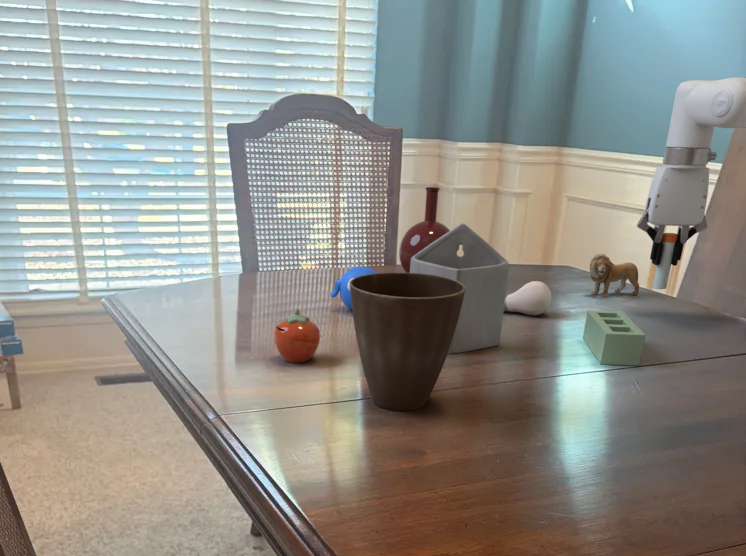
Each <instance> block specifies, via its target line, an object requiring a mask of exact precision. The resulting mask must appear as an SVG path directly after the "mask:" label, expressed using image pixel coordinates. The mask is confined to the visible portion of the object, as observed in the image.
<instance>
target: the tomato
mask: <svg viewBox="0 0 746 556" xmlns="http://www.w3.org/2000/svg"><path fill="white" fill-rule="evenodd" d="M273 341H274V344H275V348H276V349H277V351H278V352H279V354H280V356H281V357H282V358H283V359H284V360H285V361H286V362H287V363H294V364H299V363H305V362H307V361H309V360H310V359H311V358H313V356H314V355H315V353H316V352H317V350H318V347H319V344H320V342H321V331H320V328H319V326H318V325H317V324H316V323H315V322H313V321H311V320H310V317H309V316H306V315H304V314H301V312H300V309H298V308H296V309H294V310H293V314H289V315H287V316H285V317H284V318H283V320H282V321H280V322H278V323H277V325H276V326H275V327H274V330H273Z"/></svg>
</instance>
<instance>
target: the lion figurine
mask: <svg viewBox="0 0 746 556" xmlns="http://www.w3.org/2000/svg"><path fill="white" fill-rule="evenodd" d="M589 274H590V278H591V280H592V282H594V291H592V292H591V295H593V296H597V295H599V293H600V290H601V284H603V290H602V293H601V295H600V296H601V298H607V297H608V295H609V288H610V284H611V283H616V282H619V281H620V286H619V288H617V289H614V290H613V291H614V293H616V294H618V293H621V292H622V291H623V290H624V289H625V288H626V283H627V281H629V283H630V284H631V285H632V286H633V289H634V291H633V290H632V292H631V295H633V296H637V295H639V291H640V284H639V269H638V267H637V265H636V264H634V263H633V262H623V263H619V264H614V263H613V262H612V261H611V260H610V257H609V256H607V255H606V254H605V253H597V254H595V255H594V256H593V257H592V258H591V259H590V263H589Z"/></svg>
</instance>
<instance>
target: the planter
mask: <svg viewBox="0 0 746 556" xmlns="http://www.w3.org/2000/svg"><path fill="white" fill-rule="evenodd" d="M460 246H462V248H461V250H462V252H463V255H461V256H459V255H458V251H459V250H460ZM509 265H510V264H509V261H508V260H507V259H506V258H505V257H504V256H503V255H502V254H500V253H499V252H498V250H496V249H495V248H494V247H493V246H492V245H490V244H489V243H488V242H487V241H486V240H484V238H482V237H481V236H480V235H479V234H478V233H477V232H475V230H473V229H472V228H470V227H469V226H468V225H467V224H466V223H460V224H458V225H457V226H455V227H454V228H452V229H450V231H449V232H448V233H446V234H445V235H443V236H442V237H440V238H439V239H437V240H436V241H434V242H433V243H431V244H430V245H428V246H427V247H425V248H424V249H423V250H421V251H420V252H418V253H417V254H415V255H414V256H413V257H412V258H411V264H410V273H420V274H429V275H435V276H441V277H446V278H450V279H453V280H456V281H459V282H461V283H463V284H464V285H465V287H466V290H465V294H464V299H463V303H462V307H461V311H460V315H459V319H458V323H457V326H456V330H455V333H454V336H453V339H452V342H451V345H450V348H449V351H448V354H447V355H454V354H459V353H460V354H461V353H466V352H472V351H478V350H483V349H487V348H493V347H497V346H499V345H500V343H501V342H500V341H501V334H502V333H501V332H502V325H503V319H504V318H503V316H504V312H503V309H504V301H505V297H506V293H507V285H508V278H509V277H508V276H509V268H510V267H509Z"/></svg>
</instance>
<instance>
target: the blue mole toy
mask: <svg viewBox="0 0 746 556" xmlns="http://www.w3.org/2000/svg"><path fill="white" fill-rule="evenodd" d="M377 273H378V272H377V271H376V270H375V269H373V268H371V267H368V266H363V265H362V266H360V265H358V266H354V267H351V268H350V269H348V270H346V272H344V274H343V275H342V277H340V278H338V279H336V281H335V282H334V286H333V289H332V291H331V292H330V298H335V297H337V296H338V294H339V298H340V300H341V301H342V303H343V305H344V306H345V307H346V308H347V309H349V310H351V311H353V310H352V300H351V290H350V281H351V280H352V279H354V278H356V277H359V276H363V275H368V274H377Z"/></svg>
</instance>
